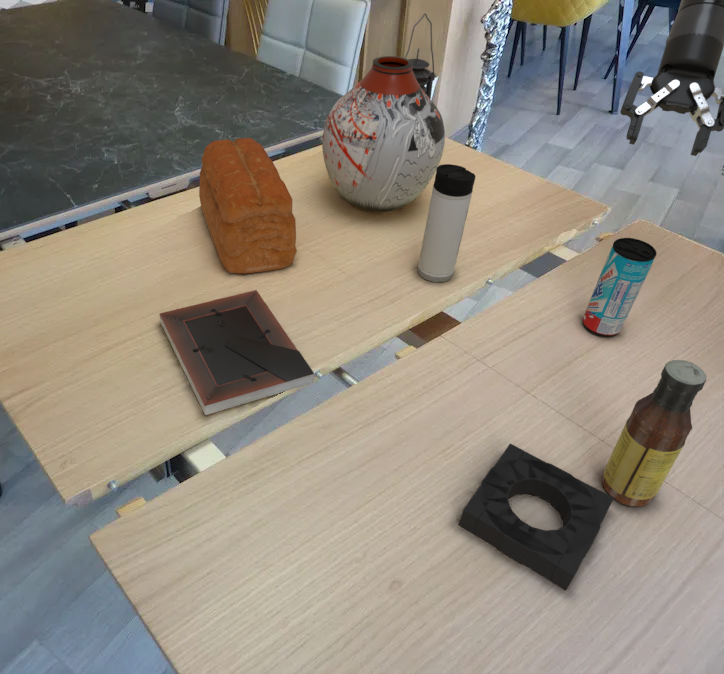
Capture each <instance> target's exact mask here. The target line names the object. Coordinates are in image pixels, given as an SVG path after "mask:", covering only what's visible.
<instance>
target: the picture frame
mask: <svg viewBox="0 0 724 674" xmlns="http://www.w3.org/2000/svg"><path fill="white" fill-rule="evenodd" d="M158 314H159V321H160V322H159V323H160V325H161V327H162V329H163V331H164V333H165V335H166V338H167V339H168V341H169V343H170V346H171V348H172V349H173V352H174V354H175V356H176V357H177V360H178V362H179V364H180V366H181V369H182V370H183V371H184V374H185V377H186V379H187V381H188V383H189V384H190V387H191V389H192V391H193V393H194V395H195V397H196V400H197V402H198V403H199V406H200V407H201V410H202V411H203V414H204V415H205V416H208V415H211V414H214V413H218V412H220V411H221V412H222V411H225V410H228V409H231V408H234V407H238V406H241V405H245V404H247V403H251V402H254V401H258V400H261V399H264V398H268V397H271V396H274V395H277V394H281V393H284V392H288V391H291V390H294V389H297V388H298V389H299V388H302V387H304V386H308V385H311V384H314V379H315V372H314V370H313V369H312V367H311V366H310V365H309V364H308V362H307V360H306V359H305V357H304V356H303V355H302V352H301V351H300V350H298V348H297V347H296V346H295V344H294V343H293V341H292V340H291V338H290V336H289V335H288V334H287V332H286V331H285V329H284V328H283V327H282V325H281V323H280V322H279V320H277V318H276V316H275V315H274V313H273V312H272V311H271V309H270V308H269V306H268V305H267V303H266V302H265V300H264V299H263V297H262V296H261V294H260V293H259V291H258V290H257V289H255V290H251V291H247V292H242V293H238V294H234V295H230V296H226V297H221V298H217V299H213V300H209V301H205V302H201V303H197V304H193V305H188V306H184V307H181V308H176V309H172V310H168V311H164V312H161V313H158Z"/></svg>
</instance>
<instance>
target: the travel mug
mask: <svg viewBox="0 0 724 674" xmlns="http://www.w3.org/2000/svg"><path fill="white" fill-rule="evenodd" d="M434 176H435V177H434V182H433V185H432V190H431V196H430V200H429V206H428V210H427V211H428V212H427V217H426V222H425V226H424V233H423V239H422V243H421V249H420V254H419V258H418V259H419V260H418V264H417V273H418V275H419V276H420V277H421V278H422V279H425V280H426V281H428V282H433V283H444V282H447V281H449V280H451V279H452V278H453V276H454V273H455V269H456V265H457V264H456V263H457V259H458V255H459V251H460V247H461V244H462V243H461V242H462V238H463V235H464V230H465V225H466V221H467V217H468V212H469V210H470V209H469V208H470V204H471V199H472V194H473V191H474V190H473V189H474V185H475V180H476V174H475V173H474V172H471V171H470V170H468V169H467V168H466V167H464V166H461V165H457V164H450V163H449V164H448V163H445V164H444V163H443V164H439V166H438V167H437V170H436V172H435V175H434Z"/></svg>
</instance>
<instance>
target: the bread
mask: <svg viewBox="0 0 724 674" xmlns="http://www.w3.org/2000/svg"><path fill="white" fill-rule="evenodd" d="M274 163H275V162H274V161H273V159H272V158H270V156H269V154H268V152H267V151H266V150H265V148H264V146H263V145H262V144H260V143H259V142H258V141H256V140H255V139H253V138H252V137H242V138H236V139H235V140H234V141H232V140H230V139H221V140H220V139H219V140H213V141H211V142H210V143H209V144H208V145H206V147H205V148H204V151H203V154H202V156H201V164H202V165H201V167H200V171H199V185H198V186H199V188H198V189H199V191H198V194H199V195H198V197H199V202H200V207H201V210H202V213H203V216H204V219H205V222H206V225H207V228H208V231H209V234H210V238H211V239H212V242H213V245H214V248H215V250H216V253H217V257H218V259H219V261H220V262H221V264H222V266H223V267H224V269H225V270H226V271H227V272H228V273H231V274H245V275H246V274H253V273H262V272H268V271H276V270H282V269H285V268H287V267H289V266H291V265H293V262H294V259H295V257H296V254H297V251H298V250H297V246H296V241H297V226H296V225H297V223H296V217H295V215H294V213H293V197H292V195H291V193H290V192H289V190H288V188H287V185H286V183H285V182H284V180H283V179H282V178H281V176H280V173H279V171H278V169H277V167H276V165H275V164H274Z"/></svg>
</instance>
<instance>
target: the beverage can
mask: <svg viewBox="0 0 724 674" xmlns="http://www.w3.org/2000/svg"><path fill="white" fill-rule="evenodd" d="M656 256H657V251H656V249H655V248H654V246H653V245H651V244H650V243H649V242H646V241H644V240H641V239H638V238H633V237H621V238H617V239H615V240H614V242H613V243H612V246H611V248H610V251H609V253H608V255H607V257H606V260H605V262H604V264H603V267H602V270H601V272H600V274H599V276H598V280H597V282H596V285H595V287H594V289H593V292H592V294H591V296H590V299H589V302H588V304H587V307H586V309H585V311H584V313H583V316H582V324H583V326H584V328H585V329H586V330H587V331H588V332H590V333H591V334H593V335H594V336H595V335H596V336H599V337H602V338H611V337H615V336H617V335H618V334H619V333H620V332H621V331H622V330H623V327H624V325H625V322H626V321H627V318H628V316H629V315H630V313H631V310H632V309H633V306H634V304H635V302H636V299H637V298H638V295H639V294H640V291H641V289H642V287H643V285H644V283H645V280H646V279H647V276H648V274H649V272H650V270H651V267H652V265H653V263H654V261H655V258H656Z"/></svg>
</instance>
